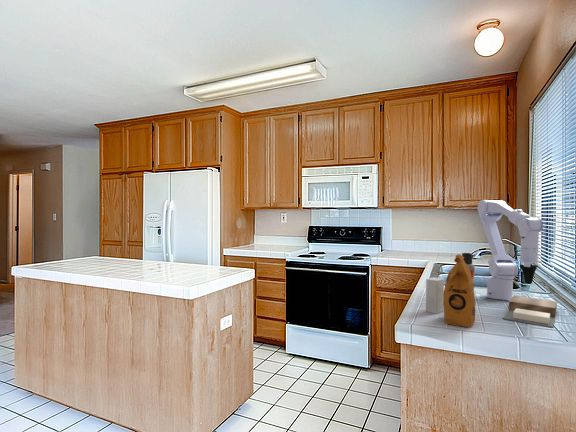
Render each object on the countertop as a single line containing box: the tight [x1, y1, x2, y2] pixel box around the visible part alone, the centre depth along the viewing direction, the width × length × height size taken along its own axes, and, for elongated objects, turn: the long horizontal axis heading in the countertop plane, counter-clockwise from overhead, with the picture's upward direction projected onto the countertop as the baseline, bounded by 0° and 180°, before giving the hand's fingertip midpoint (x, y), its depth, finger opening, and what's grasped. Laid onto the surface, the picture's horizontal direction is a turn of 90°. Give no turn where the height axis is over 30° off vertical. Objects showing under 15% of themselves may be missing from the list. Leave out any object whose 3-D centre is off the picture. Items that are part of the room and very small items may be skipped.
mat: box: [502, 309, 556, 329], centre depth 126 cm, size 14×14×1 cm
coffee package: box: [443, 254, 476, 328], centre depth 121 cm, size 10×12×22 cm
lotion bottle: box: [461, 252, 476, 288], centre depth 151 cm, size 6×6×20 cm
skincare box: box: [425, 277, 445, 315], centre depth 133 cm, size 6×4×12 cm
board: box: [508, 295, 558, 318], centre depth 137 cm, size 14×13×4 cm
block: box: [513, 308, 550, 324], centre depth 125 cm, size 10×7×2 cm
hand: (528, 283), depth 142 cm, fingers closed
